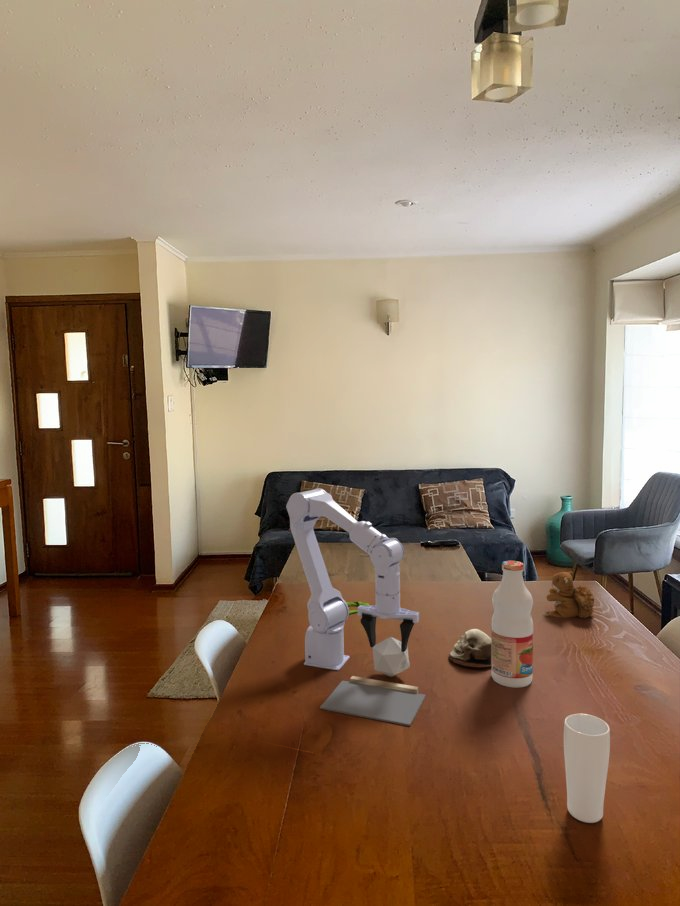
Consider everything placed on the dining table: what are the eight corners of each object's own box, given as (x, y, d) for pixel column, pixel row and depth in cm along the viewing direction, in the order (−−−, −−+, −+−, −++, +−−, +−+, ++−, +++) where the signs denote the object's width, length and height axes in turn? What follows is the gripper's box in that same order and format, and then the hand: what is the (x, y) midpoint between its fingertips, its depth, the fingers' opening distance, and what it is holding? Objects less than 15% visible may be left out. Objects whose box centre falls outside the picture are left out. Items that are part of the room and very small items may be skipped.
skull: (444, 663, 148) (446, 624, 155) (451, 680, 155) (453, 641, 162) (494, 665, 144) (494, 625, 151) (499, 682, 151) (499, 642, 158)
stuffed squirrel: (553, 606, 191) (554, 565, 189) (600, 615, 182) (601, 573, 181) (542, 615, 183) (542, 573, 182) (590, 626, 174) (591, 581, 173)
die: (408, 686, 140) (407, 645, 139) (369, 683, 142) (369, 642, 141) (411, 670, 148) (411, 630, 147) (375, 667, 150) (374, 628, 149)
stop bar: (350, 683, 142) (350, 678, 142) (352, 680, 143) (352, 675, 143) (416, 694, 136) (416, 689, 136) (418, 692, 137) (418, 686, 137)
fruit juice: (492, 668, 148) (493, 556, 146) (532, 672, 146) (534, 559, 143) (489, 685, 140) (490, 567, 137) (532, 691, 137) (534, 570, 134)
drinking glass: (555, 800, 100) (556, 714, 99) (594, 797, 101) (596, 711, 99) (574, 829, 93) (576, 737, 92) (616, 826, 94) (619, 734, 92)
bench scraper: (320, 708, 131) (320, 707, 131) (342, 682, 143) (342, 680, 143) (410, 726, 123) (410, 724, 123) (425, 696, 135) (425, 694, 135)
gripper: (352, 593, 140) (353, 650, 141) (413, 600, 135) (413, 659, 136) (362, 584, 146) (363, 638, 148) (421, 590, 141) (421, 647, 142)
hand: (388, 647), depth 142 cm, fingers open, 7 cm apart
